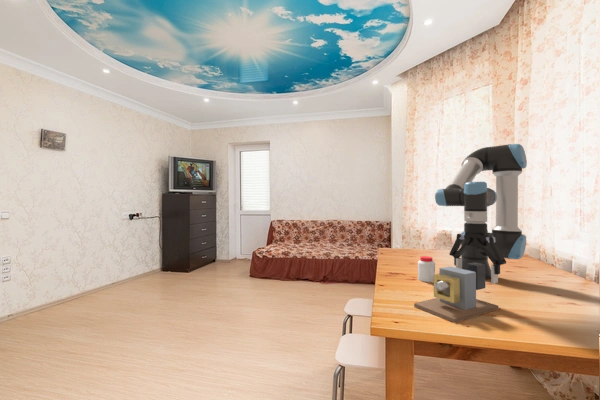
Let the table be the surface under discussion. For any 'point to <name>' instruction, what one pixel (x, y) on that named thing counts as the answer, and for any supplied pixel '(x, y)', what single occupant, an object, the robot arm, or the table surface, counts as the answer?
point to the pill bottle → (426, 269)
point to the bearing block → (467, 299)
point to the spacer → (454, 288)
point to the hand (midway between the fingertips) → (475, 278)
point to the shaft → (473, 267)
